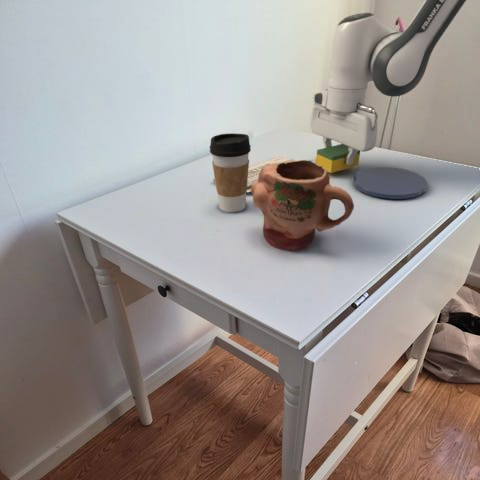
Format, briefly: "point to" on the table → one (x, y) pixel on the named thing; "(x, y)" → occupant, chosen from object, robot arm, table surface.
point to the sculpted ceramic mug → (296, 202)
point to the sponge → (335, 158)
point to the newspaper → (255, 170)
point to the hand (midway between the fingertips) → (338, 159)
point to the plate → (390, 182)
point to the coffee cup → (231, 169)
